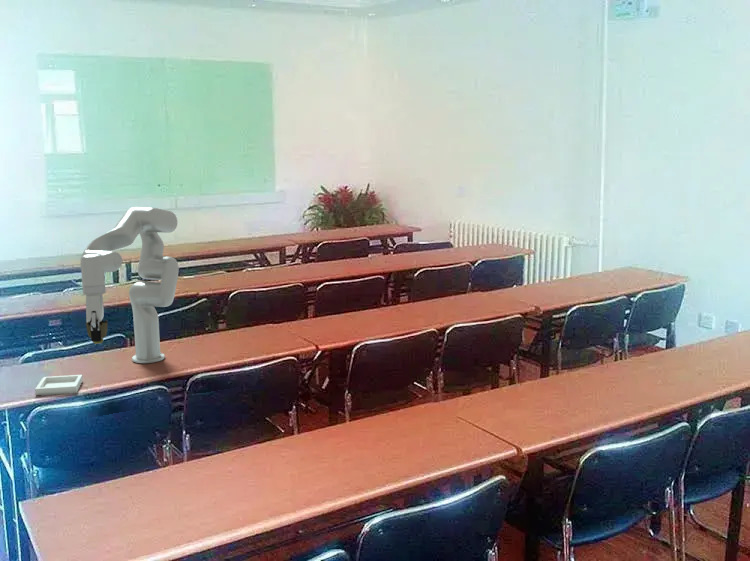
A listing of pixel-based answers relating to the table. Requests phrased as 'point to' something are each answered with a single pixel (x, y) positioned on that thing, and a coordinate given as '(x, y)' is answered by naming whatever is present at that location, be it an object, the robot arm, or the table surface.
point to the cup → (102, 327)
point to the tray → (59, 385)
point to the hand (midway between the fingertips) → (97, 338)
